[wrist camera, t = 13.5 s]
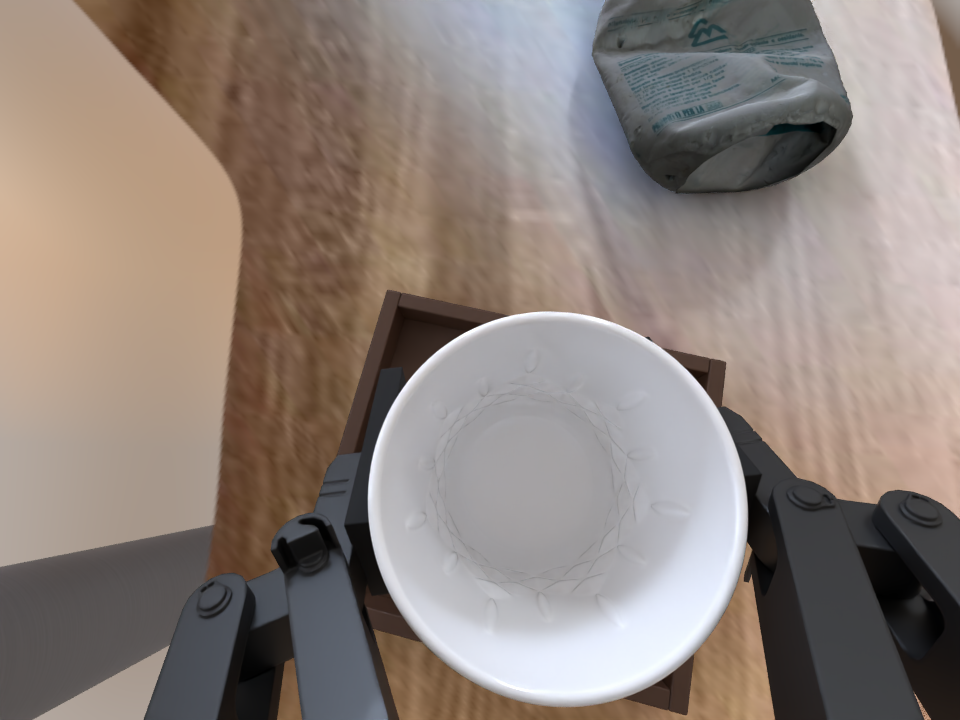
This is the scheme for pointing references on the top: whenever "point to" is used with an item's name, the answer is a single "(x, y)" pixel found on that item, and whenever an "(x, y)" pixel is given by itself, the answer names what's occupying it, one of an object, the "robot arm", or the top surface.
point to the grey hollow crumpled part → (721, 89)
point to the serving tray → (409, 344)
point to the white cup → (557, 509)
